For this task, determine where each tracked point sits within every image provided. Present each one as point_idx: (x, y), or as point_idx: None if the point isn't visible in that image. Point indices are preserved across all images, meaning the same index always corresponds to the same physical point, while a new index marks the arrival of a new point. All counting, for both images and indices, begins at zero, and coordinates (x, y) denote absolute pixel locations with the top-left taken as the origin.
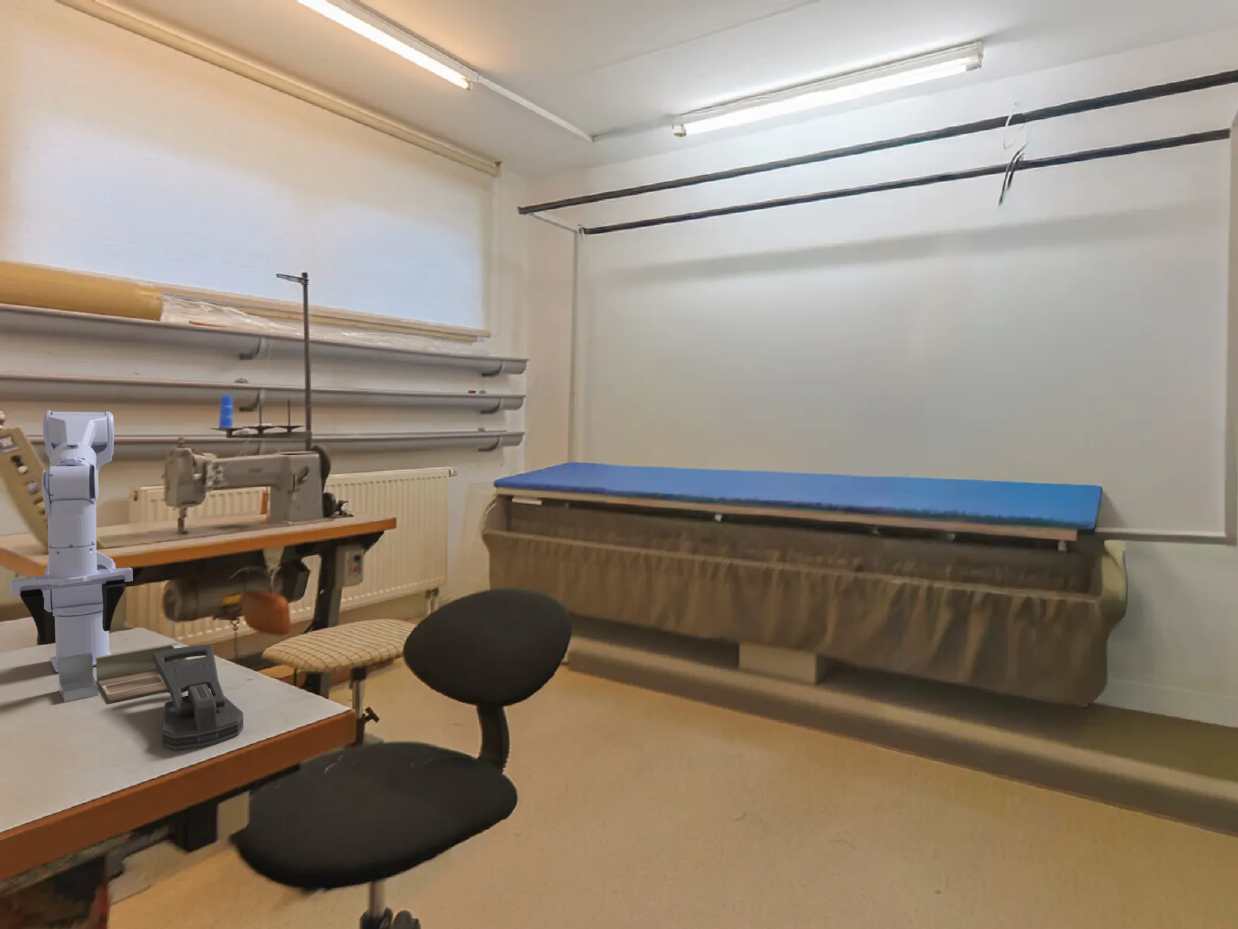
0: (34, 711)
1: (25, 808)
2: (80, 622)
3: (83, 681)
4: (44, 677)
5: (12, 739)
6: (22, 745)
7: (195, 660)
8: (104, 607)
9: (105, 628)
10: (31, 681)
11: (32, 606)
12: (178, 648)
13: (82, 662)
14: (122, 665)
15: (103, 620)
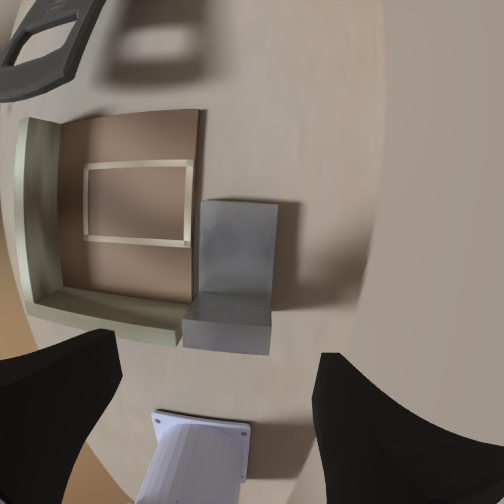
0: (338, 185)
1: None
2: (188, 497)
3: (223, 271)
4: (271, 417)
5: (382, 44)
6: (367, 7)
7: (42, 14)
8: (68, 419)
9: (106, 334)
10: (294, 409)
11: (456, 449)
12: (20, 86)
13: (212, 313)
14: (132, 308)
15: (101, 384)
